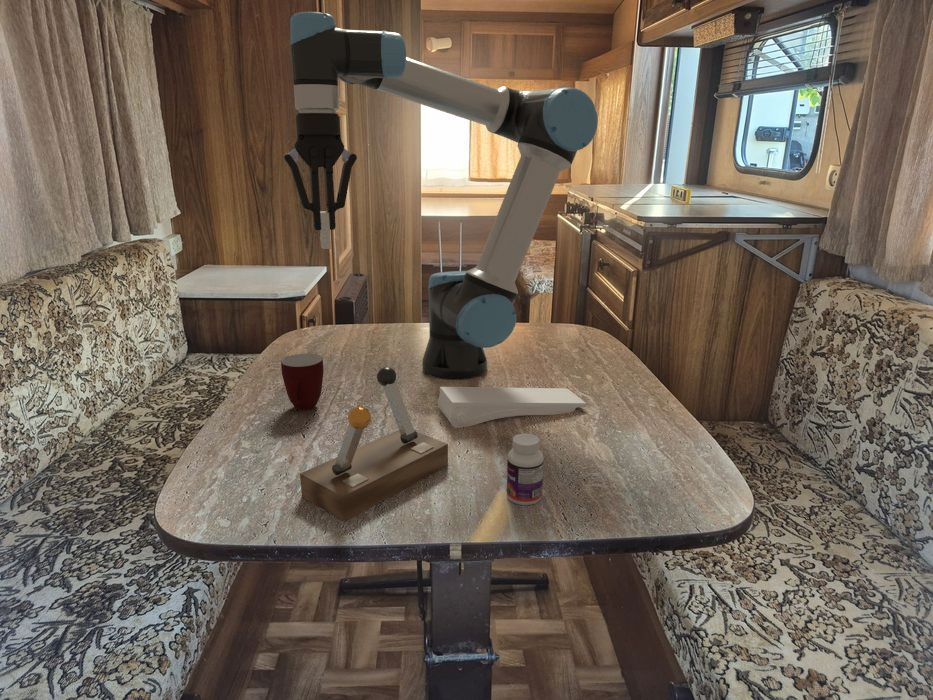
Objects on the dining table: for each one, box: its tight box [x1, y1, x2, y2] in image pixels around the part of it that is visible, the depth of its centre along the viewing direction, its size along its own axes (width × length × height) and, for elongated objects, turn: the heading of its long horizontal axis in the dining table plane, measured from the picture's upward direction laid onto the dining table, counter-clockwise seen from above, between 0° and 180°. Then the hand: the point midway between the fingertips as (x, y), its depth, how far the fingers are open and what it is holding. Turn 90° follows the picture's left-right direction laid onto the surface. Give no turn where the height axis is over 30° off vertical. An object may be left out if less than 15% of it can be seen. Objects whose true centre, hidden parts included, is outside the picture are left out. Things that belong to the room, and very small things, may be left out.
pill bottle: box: [506, 432, 545, 506], centre depth 99 cm, size 5×5×10 cm
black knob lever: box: [376, 366, 418, 444], centre depth 109 cm, size 3×3×13 cm
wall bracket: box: [437, 386, 587, 429], centre depth 132 cm, size 10×7×28 cm
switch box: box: [299, 429, 449, 522], centre depth 105 cm, size 10×22×4 cm, turn 139°
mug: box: [280, 353, 325, 411], centre depth 131 cm, size 10×8×10 cm
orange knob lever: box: [332, 406, 372, 475], centre depth 96 cm, size 3×3×13 cm
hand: (325, 247), depth 122 cm, fingers closed
